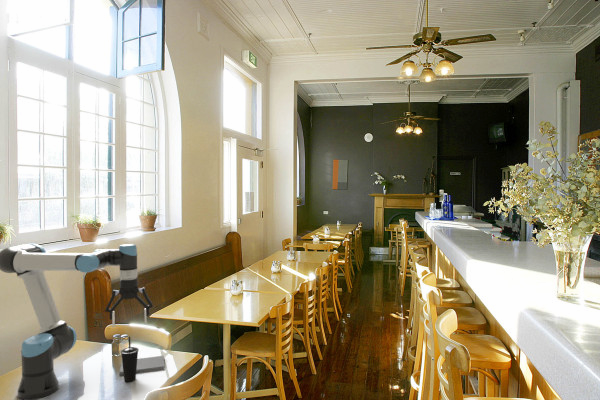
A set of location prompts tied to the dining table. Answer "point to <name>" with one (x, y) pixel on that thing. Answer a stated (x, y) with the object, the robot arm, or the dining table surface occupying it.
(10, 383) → the dining table surface
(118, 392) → the dining table surface
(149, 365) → the slate board
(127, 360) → the drinking cup
